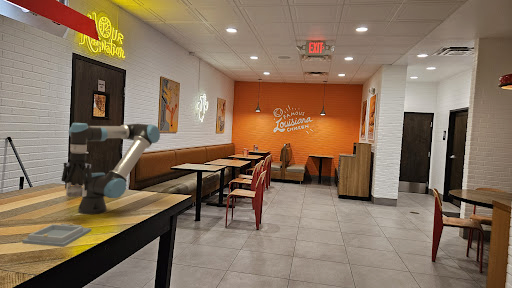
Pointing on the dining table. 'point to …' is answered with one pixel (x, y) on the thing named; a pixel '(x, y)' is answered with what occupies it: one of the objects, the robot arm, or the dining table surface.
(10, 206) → the dining table surface
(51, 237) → the bracket board
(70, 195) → the stone
